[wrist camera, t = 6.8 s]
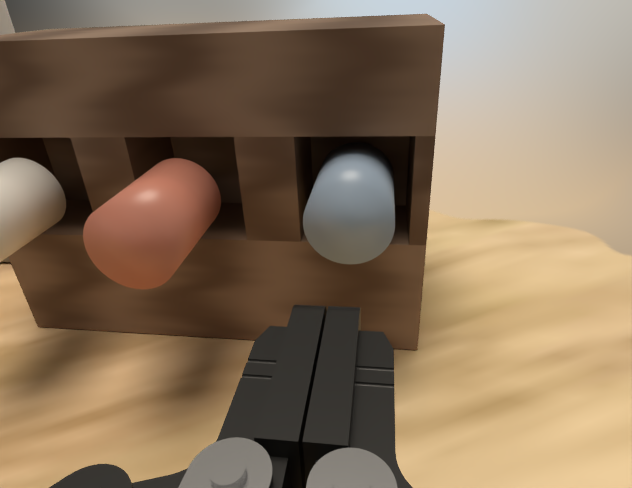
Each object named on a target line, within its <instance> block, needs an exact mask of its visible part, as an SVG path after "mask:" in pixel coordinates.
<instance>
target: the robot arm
mask: <svg viewBox="0 0 632 488" xmlns="http://www.w3.org/2000/svg"><path fill="white" fill-rule="evenodd" d="M49 488H413V487H411V485H410V484H409V483H408V482H407V481H406V479H405V478H404V476H403V475H402V473H401V471H400V469H399V467H398V464H397V460H396V454H395V409H394V351H393V347H392V345H391V344H390V342H389V340H388V339H387V337H386V335H385V334H384V332H378V331H361V308H360V307H339V306H328V309H327V307H326V306H314V305H294V306H293V308H292V311H291V315H290V318H289V321H288V325H287V327H282V326H269V327H268V328H267V329H266V330H265V331H264V332H263V333H262V334H261V335H260V336H259V337H258V338H257V339H256V340H255V342H254V345H253V347H252V350H251V353H250V355H249V358H248V362H247V363H246V366H245V368H244V371H243V375H242V378H241V379H240V382H239V384H238V387H237V389H236V392H235V395H234V397H233V400H232V403H231V405H230V408H229V411H228V413H227V416H226V418H225V421H224V424H223V426H222V429H221V432H220V434H219V437H218V439H217V441H216V442H215V443H213V444H211V445H209V446H208V447H206V448H205V449H203V450H202V451H201V452H200V453H199V454H198V455H197V456H196V457H195V458H194V460H193V461H192V462H191V464H190V466H189V467H188V468H187V469H185V470H183V471H181V472H178V473H175V474H171V475H168V476H163V477H158V478H154V479H149V480H144V481H140V482H135V483H131V480H130V478H129V476H128V475H127V473H126V472H125V471H124V470H122V469H121V468H119V467H117V466H114V465H110V464H97V465H91V466H88V467H85V468H82V469H80V470H78V471H75V472H74V473H72V474H70V475H68V476H67V477H65V478H64V479H62V480H60V481H59V482H57V483H56V484H54V485H53V486H51V487H49Z"/></svg>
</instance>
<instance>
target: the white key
mask: <svg viewBox="0 0 632 488" xmlns="http://www.w3.org/2000/svg"><path fill="white" fill-rule="evenodd" d="M65 211H66V198H65V194H64V191H63V189H62V187H61V185H60V184H59V182H58V181H57V179H56V178H55V177H54V176H53V175H52V174H51V173H50V172H49V171H48V170H47V169H46V168H45V167H43V166H42V165H40V164H38V163H36V162H34V161H32V160H29V159H25V158H11V159H8V160H5V161H3V162H1V163H0V262H2V261H3V260H4V259H6V258H7V257H9V256H10V255H12V254H13V253H14V252H16V251H17V250H19V249H20V248H21V247H23V246H24V245H26V244H27V243H29V242H30V241H31V240H33V239H34V238H36V237H37V236H39V235H40V234H41V233H43V232H44V231H46V230H47V229H49V228H50V227H51V226H53V225H54V224H56V223H57V222H58V221H60V220H61V219H62V217H63V216H64V214H65Z"/></svg>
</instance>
